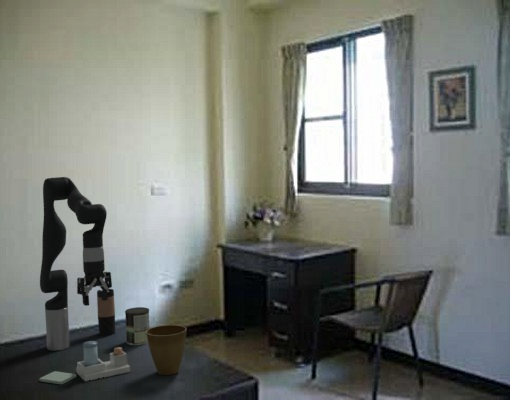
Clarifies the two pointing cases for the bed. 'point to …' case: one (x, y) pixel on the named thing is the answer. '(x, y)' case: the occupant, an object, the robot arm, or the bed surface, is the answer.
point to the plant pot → (167, 347)
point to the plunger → (117, 351)
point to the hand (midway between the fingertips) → (95, 302)
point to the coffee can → (137, 325)
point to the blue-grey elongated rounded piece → (90, 353)
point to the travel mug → (106, 313)
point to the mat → (57, 377)
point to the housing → (104, 367)
